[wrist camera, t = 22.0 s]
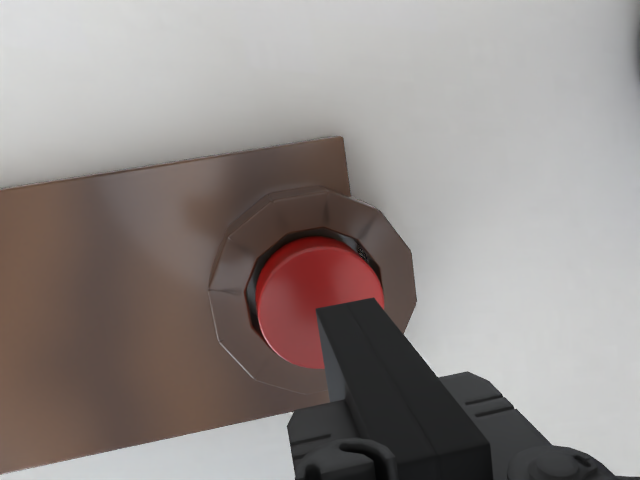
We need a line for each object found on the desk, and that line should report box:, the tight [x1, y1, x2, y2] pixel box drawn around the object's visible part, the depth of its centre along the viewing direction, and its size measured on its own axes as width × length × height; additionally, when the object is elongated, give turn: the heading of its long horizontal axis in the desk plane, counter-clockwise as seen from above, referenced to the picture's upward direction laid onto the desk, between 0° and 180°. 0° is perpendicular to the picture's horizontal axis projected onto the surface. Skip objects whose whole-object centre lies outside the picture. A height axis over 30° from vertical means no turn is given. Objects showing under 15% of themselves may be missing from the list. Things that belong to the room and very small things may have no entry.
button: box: [255, 236, 384, 369], centre depth 18 cm, size 4×4×2 cm
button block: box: [0, 136, 417, 475], centre depth 19 cm, size 19×10×2 cm, turn 98°
